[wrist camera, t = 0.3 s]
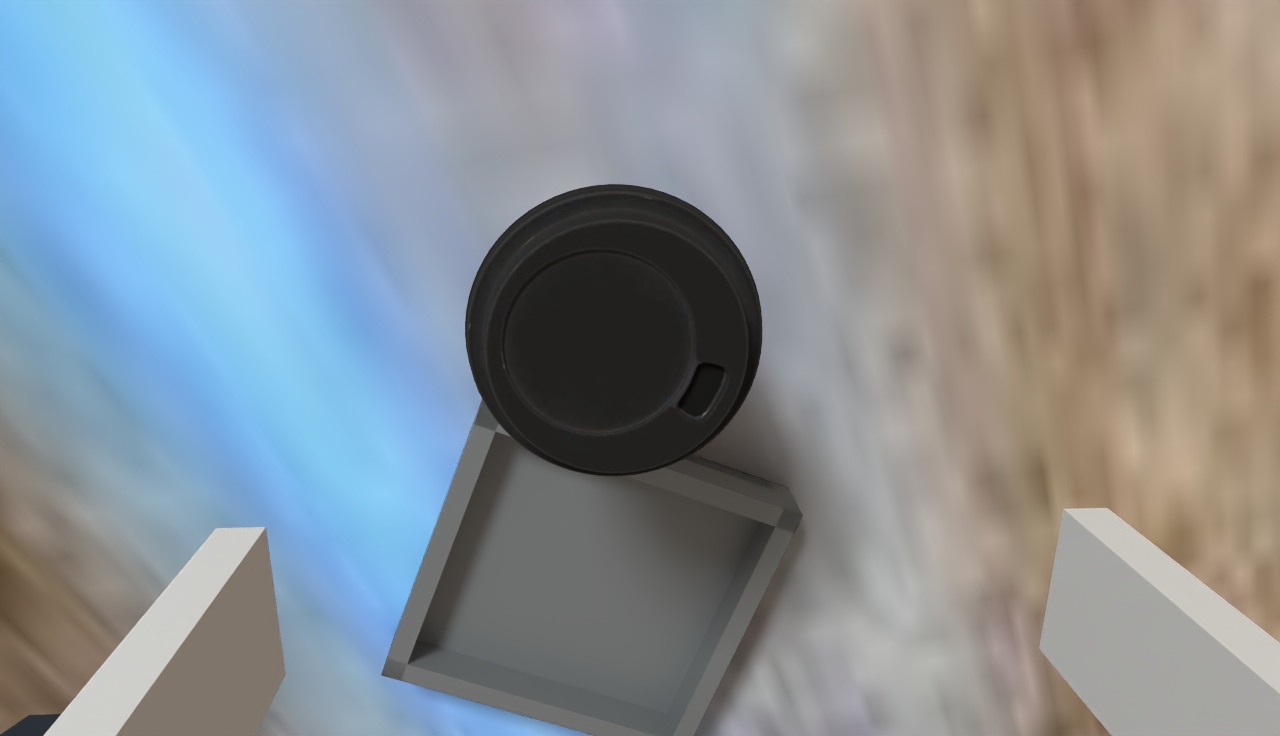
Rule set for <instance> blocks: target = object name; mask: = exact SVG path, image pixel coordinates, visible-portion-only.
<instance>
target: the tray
mask: <svg viewBox="0 0 1280 736" xmlns="http://www.w3.org/2000/svg"><path fill="white" fill-rule="evenodd" d="M802 516H803V515H802V513H801V511H800V509H799V507H798V505H797V504H796V502H795V500H794V498H793V496H792V494H791V492H790V490H789V489H788V488H786V487H783V486H780V485H778V484H775V483H772V482H769V481H766V480H763V479H760V478H758V477H755V476H752V475H749V474H746V473H743V472H740V471H738V470H735V469H732V468H729V467H726V466H723V465H720V464H718V463H715V462H712V461H709V460H706V459H703V458H700V457H698V456H695V455H690V456H688V457H687V458H685V459H683V460H681V461H679V462H677V463H674V464H672V465H670V466H667V467H664V468H661V469H659V470H655V471H651V472H647V473H642V474H637V475H629V476H596V475H590V474H583V473H579V472H575V471H571V470H568V469H565V468H562V467H559V466H557V465H554V464H552V463H550V462H547V461H546V460H544V459H542V458H540V457H538V456H536V455H535V454H533V453H532V452H530V451H528V450H527V449H526V448H524V447H523V446H522V445H520V444H519V443H518V442H517V441H515V440H514V439H513V438H512V437H511V436H510V435H509V434H508V433H507V432H506V431H505V430H504V429H503V428H502V427H501V425H500V424H499V423H498V422H497V421H496V419H495V418H494V417H493V415H492V414H491V412H490V411H489V409H488V408H487V406H486V404H485V403H484V401H483V399H482V401H481V404H480V406H479V409H478V412H477V414H476V417H475V420H474V422H473V425H472V428H471V431H470V433H469V436H468V439H467V441H466V444H465V447H464V450H463V452H462V455H461V458H460V460H459V463H458V466H457V468H456V471H455V474H454V477H453V479H452V482H451V485H450V487H449V490H448V493H447V495H446V498H445V501H444V504H443V506H442V509H441V512H440V514H439V517H438V520H437V522H436V525H435V528H434V531H433V533H432V536H431V539H430V541H429V544H428V547H427V549H426V552H425V555H424V558H423V560H422V563H421V566H420V568H419V571H418V574H417V576H416V579H415V582H414V585H413V587H412V590H411V593H410V595H409V598H408V601H407V603H406V606H405V609H404V612H403V614H402V617H401V620H400V622H399V625H398V628H397V630H396V633H395V636H394V639H393V641H392V644H391V647H390V650H389V653H388V656H387V659H386V662H385V665H384V668H383V671H382V674H381V675H382V676H386V677H389V678H393V679H397V680H400V681H404V682H407V683H411V684H414V685H418V686H421V687H425V688H428V689H432V690H435V691H439V692H442V693H446V694H450V695H453V696H457V697H460V698H464V699H467V700H471V701H474V702H478V703H481V704H485V705H488V706H492V707H495V708H499V709H503V710H506V711H510V712H513V713H517V714H520V715H524V716H527V717H531V718H534V719H538V720H541V721H545V722H548V723H552V724H556V725H559V726H563V727H566V728H570V729H573V730H577V731H580V732H584V733H587V734H591V735H594V736H694V734H695V732H696V730H697V728H698V726H699V724H700V722H701V720H702V718H703V716H704V714H705V712H706V710H707V708H708V706H709V704H710V702H711V700H712V698H713V696H714V694H715V692H716V690H717V688H718V686H719V684H720V682H721V680H722V678H723V676H724V673H725V671H726V669H727V667H728V665H729V663H730V661H731V659H732V657H733V655H734V653H735V651H736V649H737V647H738V645H739V643H740V641H741V639H742V637H743V635H744V633H745V631H746V629H747V627H748V625H749V623H750V621H751V619H752V617H753V615H754V613H755V611H756V609H757V607H758V605H759V603H760V601H761V599H762V597H763V595H764V593H765V591H766V589H767V587H768V585H769V583H770V581H771V579H772V577H773V575H774V573H775V571H776V569H777V567H778V565H779V563H780V561H781V559H782V557H783V555H784V553H785V551H786V549H787V547H788V545H789V543H790V541H791V539H792V537H793V535H794V533H795V531H796V529H797V527H798V525H799V523H800V520H801V518H802Z"/></svg>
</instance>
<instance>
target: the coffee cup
mask: <svg viewBox="0 0 1280 736" xmlns="http://www.w3.org/2000/svg"><path fill="white" fill-rule="evenodd" d="M465 337H466V347H467V353H468V359H469V363H470V367H471V370H472V374H473V377H474V381H475V383H476V386H477V388H478V391H479V393H480V395H481V397H482V399H483V401H484V403H485V404H486V406H487V408H488V409H489V411H490V412H491V414H492V415H493V417H494V418H495V419H496V421H497V422H498V423H499V424H500V425H501V427H502V428H503V429H504V430H505V431H506V432H507V433H508V434H509V435H510V436H511V437H512V438H513V439H514V440H515V441H517V442H518V443H519V444H520V445H522V446H523V447H524V448H526V449H527V450H528V451H530V452H532V453H533V454H535V455H536V456H538V457H540V458H542V459H544V460H546V461H547V462H550V463H552V464H554V465H557V466H559V467H562V468H565V469H568V470H571V471H575V472H579V473H583V474H590V475H596V476H629V475H637V474H642V473H647V472H651V471H655V470H659V469H661V468H664V467H667V466H670V465H672V464H674V463H677V462H679V461H681V460H683V459H685V458H687V457H688V456H690V455H692V454H694V453H695V452H697V451H698V450H700V449H701V448H703V447H704V446H705V445H706V444H708V443H709V442H710V441H711V440H713V439H714V438H715V437H716V436H717V435H718V434H719V433H720V432H721V431H722V430H723V429H724V428H725V427H726V426H727V424H728V423H729V422H730V421H731V420H732V418H733V417H734V416H735V414H736V413H737V412H738V410H739V409H740V407H741V405H742V404H743V402H744V400H745V398H746V396H747V394H748V392H749V390H750V388H751V386H752V383H753V381H754V378H755V375H756V372H757V368H758V365H759V359H760V354H761V346H762V316H761V306H760V301H759V295H758V292H757V288H756V285H755V282H754V279H753V276H752V274H751V271H750V269H749V267H748V265H747V263H746V261H745V259H744V257H743V256H742V254H741V252H740V251H739V249H738V248H737V246H736V245H735V244H734V242H733V241H732V240H731V238H730V237H729V236H728V235H727V234H726V233H725V232H724V230H723V229H722V228H721V227H720V226H719V225H717V224H716V223H715V222H714V221H713V220H712V219H711V218H709V217H708V216H707V215H706V214H704V213H703V212H702V211H700V210H699V209H697V208H695V207H694V206H692V205H691V204H689V203H687V202H685V201H683V200H681V199H679V198H677V197H675V196H672V195H669V194H667V193H664V192H661V191H657V190H654V189H651V188H645V187H640V186H633V185H620V184H608V185H596V186H590V187H584V188H580V189H576V190H572V191H569V192H566V193H563V194H560V195H558V196H555V197H553V198H551V199H549V200H547V201H545V202H543V203H541V204H539V205H538V206H536V207H534V208H533V209H531V210H529V211H528V212H527V213H525V214H524V215H523V216H521V217H520V218H519V219H517V220H516V221H515V222H514V223H513V224H512V225H511V226H510V227H509V228H508V229H507V230H506V231H505V232H504V233H503V234H502V235H501V236H500V237H499V238H498V240H497V241H496V242H495V244H494V245H493V246H492V247H491V249H490V250H489V252H488V254H487V255H486V257H485V258H484V260H483V262H482V264H481V266H480V268H479V270H478V272H477V275H476V277H475V280H474V282H473V285H472V288H471V292H470V295H469V300H468V305H467V310H466V321H465Z"/></svg>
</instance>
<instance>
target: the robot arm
mask: <svg viewBox="0 0 1280 736" xmlns="http://www.w3.org/2000/svg"><path fill="white" fill-rule="evenodd" d="M1039 649H1040V650H1041V651H1042V653H1043V654H1044V655H1045V656H1046V657H1047V659H1048V660H1049V661H1050V662H1051V663H1052V665H1053V666H1054V667H1055V668H1056V669H1057V671H1058V672H1059V673H1060V674H1061V675H1062V677H1063V678H1064V679H1065V680H1066V681H1067V683H1068V684H1069V685H1070V686H1071V687H1072V689H1073V690H1074V691H1075V692H1076V693H1077V695H1078V696H1079V697H1080V698H1081V699H1082V701H1083V702H1084V703H1085V704H1086V705H1087V707H1088V708H1089V709H1090V710H1091V711H1092V713H1093V714H1094V715H1095V716H1096V717H1097V719H1098V720H1099V721H1100V722H1101V723H1102V725H1103V726H1104V727H1105V728H1106V729H1107V731H1108V732H1109V733H1110V734H1111V735H1112V736H1280V643H1279V642H1278V641H1276V640H1275V639H1274V638H1273V637H1271V636H1270V635H1269V634H1267V633H1266V632H1265V631H1264V630H1262V629H1261V628H1260V627H1259V626H1257V625H1256V624H1255V623H1253V622H1252V621H1251V620H1250V619H1248V618H1247V617H1246V616H1244V615H1243V614H1242V613H1241V612H1239V611H1238V610H1237V609H1236V608H1234V607H1233V606H1232V605H1230V604H1229V603H1228V602H1227V601H1225V600H1224V599H1223V598H1221V597H1220V596H1219V595H1218V594H1216V593H1215V592H1214V591H1213V590H1211V589H1210V588H1209V587H1207V586H1206V585H1205V584H1204V583H1202V582H1201V581H1200V580H1198V579H1197V578H1196V577H1195V576H1193V575H1192V574H1191V573H1190V572H1188V571H1187V570H1186V569H1184V568H1183V567H1182V566H1181V565H1179V564H1178V563H1177V562H1175V561H1174V560H1173V559H1172V558H1170V557H1169V556H1168V555H1167V554H1165V553H1164V552H1163V551H1161V550H1160V549H1159V548H1158V547H1156V546H1155V545H1154V544H1152V543H1151V542H1150V541H1149V540H1147V539H1146V538H1145V537H1144V536H1142V535H1141V534H1140V533H1138V532H1137V531H1136V530H1135V529H1133V528H1132V527H1131V526H1129V525H1128V524H1127V523H1126V522H1124V521H1123V520H1122V519H1121V518H1119V517H1118V516H1117V515H1115V514H1114V513H1113V512H1112V511H1110V510H1109V509H1108V508H1083V509H1063V515H1062V520H1061V526H1060V532H1059V538H1058V543H1057V549H1056V555H1055V561H1054V567H1053V572H1052V578H1051V584H1050V590H1049V595H1048V601H1047V607H1046V613H1045V618H1044V624H1043V630H1042V636H1041V642H1040V647H1039ZM284 676H285V666H284V659H283V651H282V644H281V636H280V629H279V621H278V614H277V606H276V599H275V592H274V584H273V577H272V569H271V562H270V554H269V547H268V539H267V532H266V527H253V528H216V529H215V530H214V532H213V533H212V534H211V535H210V536H209V538H208V539H207V540H206V541H205V542H204V544H203V545H202V546H201V547H200V548H199V550H198V551H197V552H196V553H195V554H194V556H193V557H192V558H191V559H190V560H189V562H188V563H187V564H186V565H185V566H184V568H183V569H182V570H181V571H180V572H179V574H178V575H177V576H176V577H175V578H174V580H173V581H172V582H171V583H170V584H169V586H168V587H167V588H166V589H165V590H164V592H163V593H162V594H161V595H160V596H159V598H158V599H157V600H156V601H155V602H154V604H153V605H152V606H151V607H150V608H149V610H148V611H147V612H146V613H145V614H144V616H143V617H142V618H141V619H140V620H139V622H138V623H137V624H136V625H135V626H134V628H133V629H132V630H131V631H130V632H129V634H128V635H127V636H126V637H125V638H124V640H123V641H122V642H121V643H120V644H119V646H118V647H117V648H116V649H115V650H114V652H113V653H112V654H111V655H110V656H109V658H108V659H107V660H106V661H105V662H104V664H103V665H102V666H101V667H100V668H99V670H98V671H97V672H96V673H95V674H94V676H93V677H92V678H91V679H90V680H89V682H88V683H87V684H86V685H85V686H84V688H83V689H82V690H81V691H80V692H79V694H78V695H77V696H76V697H75V698H74V700H73V701H72V702H71V703H70V704H69V706H68V707H67V708H66V709H65V710H64V712H63V713H62V714H52V715H29V716H27V717H26V718H24V719H23V720H21V721H20V722H19V723H17V724H16V725H14V726H13V727H11V728H10V729H8V730H7V731H5V732H4V733H2V734H1V735H0V736H255V734H256V732H257V730H258V728H259V726H260V724H261V722H262V720H263V718H264V716H265V714H266V712H267V710H268V708H269V706H270V704H271V702H272V700H273V698H274V696H275V694H276V692H277V690H278V688H279V686H280V684H281V682H282V680H283V678H284Z"/></svg>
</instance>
